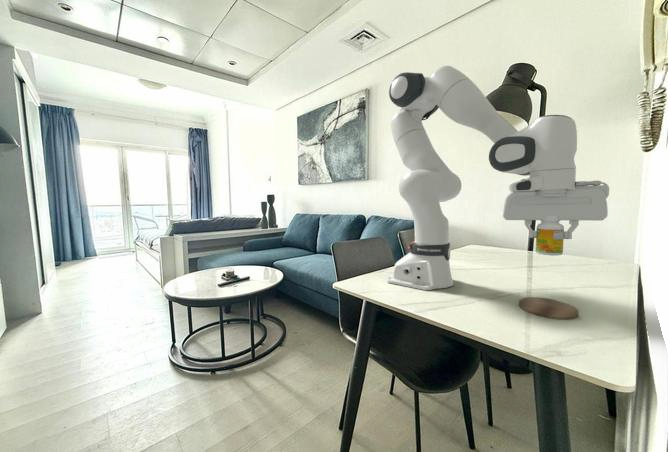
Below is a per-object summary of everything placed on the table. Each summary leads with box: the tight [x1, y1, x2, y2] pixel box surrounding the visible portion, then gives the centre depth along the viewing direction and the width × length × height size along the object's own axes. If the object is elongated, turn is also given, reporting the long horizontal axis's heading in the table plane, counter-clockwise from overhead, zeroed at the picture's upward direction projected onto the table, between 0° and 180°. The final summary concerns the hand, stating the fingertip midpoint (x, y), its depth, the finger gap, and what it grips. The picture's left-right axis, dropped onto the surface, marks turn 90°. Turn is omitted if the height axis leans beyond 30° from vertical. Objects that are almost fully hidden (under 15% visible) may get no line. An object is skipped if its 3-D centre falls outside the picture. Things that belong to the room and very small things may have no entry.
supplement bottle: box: [535, 216, 565, 257], centre depth 68 cm, size 5×5×10 cm
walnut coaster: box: [518, 296, 580, 320], centre depth 70 cm, size 12×12×1 cm
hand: (549, 238), depth 68 cm, fingers closed on supplement bottle, 5 cm apart
